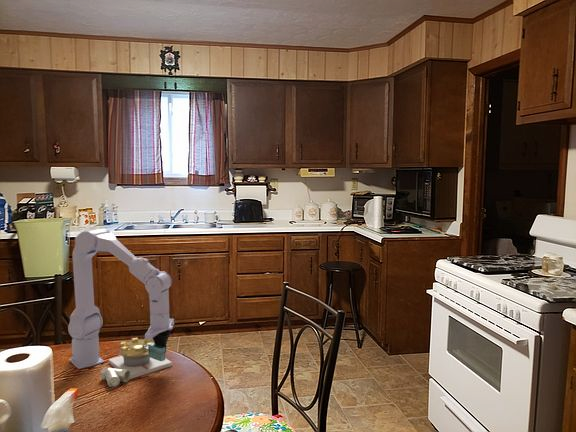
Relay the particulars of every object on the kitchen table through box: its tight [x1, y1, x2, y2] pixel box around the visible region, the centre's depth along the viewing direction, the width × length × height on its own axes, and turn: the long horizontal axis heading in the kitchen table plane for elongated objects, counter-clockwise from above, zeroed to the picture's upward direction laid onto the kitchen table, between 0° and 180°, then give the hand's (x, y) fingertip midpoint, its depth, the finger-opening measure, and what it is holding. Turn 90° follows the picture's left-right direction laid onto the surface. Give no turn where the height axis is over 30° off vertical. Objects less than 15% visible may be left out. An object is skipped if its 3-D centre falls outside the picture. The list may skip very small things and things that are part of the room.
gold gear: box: [119, 337, 166, 361], centre depth 142 cm, size 18×10×4 cm, turn 55°
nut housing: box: [108, 355, 173, 380], centre depth 146 cm, size 16×14×4 cm
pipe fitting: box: [99, 366, 131, 388], centre depth 133 cm, size 8×4×7 cm
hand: (161, 354), depth 141 cm, fingers closed, pressing on gold gear
